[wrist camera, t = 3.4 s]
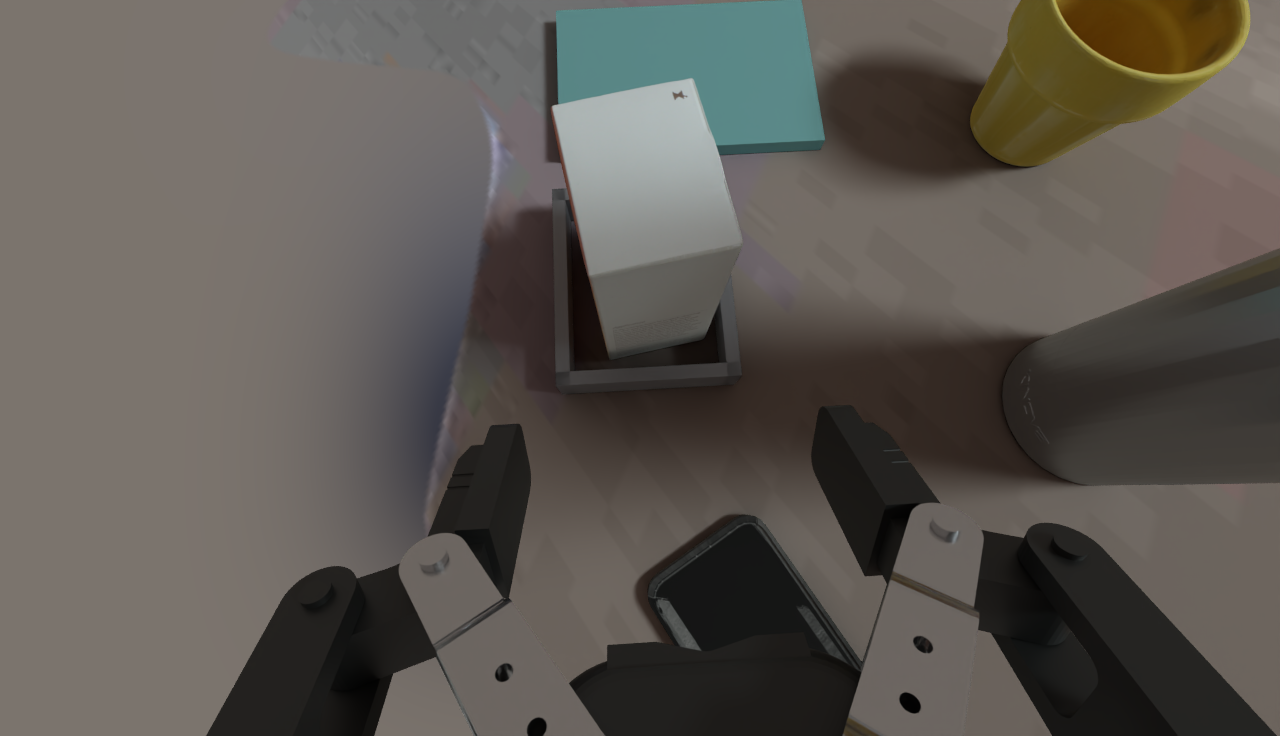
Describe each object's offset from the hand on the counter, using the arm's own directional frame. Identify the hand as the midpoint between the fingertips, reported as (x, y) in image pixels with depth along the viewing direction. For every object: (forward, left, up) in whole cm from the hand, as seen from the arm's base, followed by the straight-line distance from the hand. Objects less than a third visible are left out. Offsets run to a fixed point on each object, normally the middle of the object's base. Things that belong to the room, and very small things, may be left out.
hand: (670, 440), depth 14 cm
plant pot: (-27, -22, -17) cm, 39 cm away
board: (-4, -27, -17) cm, 32 cm away
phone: (-6, +11, -17) cm, 21 cm away
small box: (0, -11, -17) cm, 20 cm away
